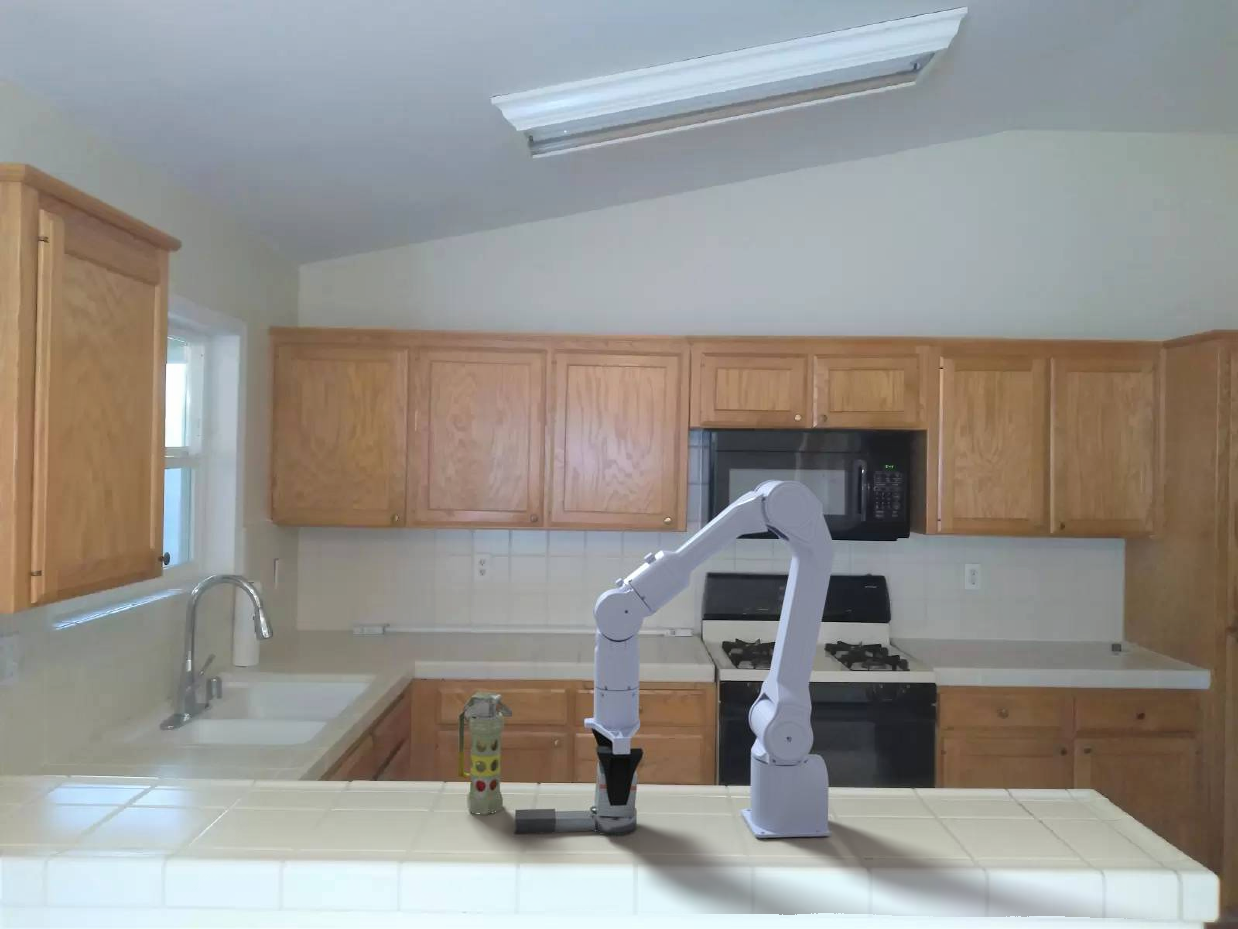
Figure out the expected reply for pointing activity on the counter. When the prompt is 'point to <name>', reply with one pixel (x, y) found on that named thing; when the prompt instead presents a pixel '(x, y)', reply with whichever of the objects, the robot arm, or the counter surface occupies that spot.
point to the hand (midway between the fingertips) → (615, 792)
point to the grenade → (483, 751)
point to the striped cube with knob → (603, 801)
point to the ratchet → (571, 822)
